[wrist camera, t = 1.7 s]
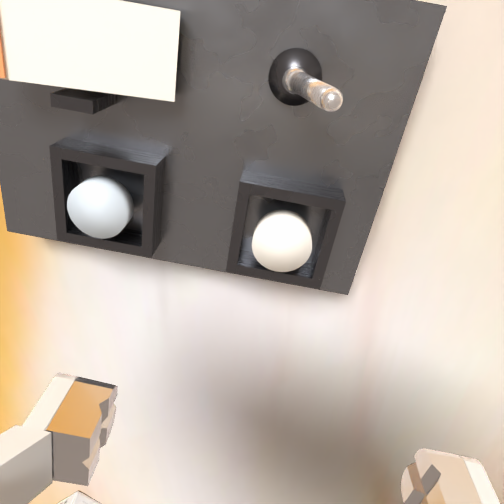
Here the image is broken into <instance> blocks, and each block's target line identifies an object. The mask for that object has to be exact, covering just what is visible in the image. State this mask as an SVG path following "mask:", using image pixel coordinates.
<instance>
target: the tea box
mask: <svg viewBox="0 0 504 504" xmlns="http://www.w3.org/2000/svg"><path fill="white" fill-rule="evenodd" d="M57 504H101V503H99V502H97V501H96V500H94V499H92V498H90V497H89V496H87V495H85V494H83V493H81V492H79V491H77V492H75V493H74V494H72V495H70V496H69V497H67V498H65V499H64V500H62V501H60V502H59V503H57Z"/></svg>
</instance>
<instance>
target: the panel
mask: <svg viewBox="0 0 504 504" xmlns="http://www.w3.org/2000/svg"><path fill="white" fill-rule="evenodd" d="M123 1H128V2H134V3H139V4H145V5H150V6H156V7H161V8H167V9H172V10H178V11H180V26H179V41H178V56H177V71H176V86H175V102H172V101H165V100H157V99H149V98H142V97H134V96H126V95H119V94H111V93H104V92H96V91H88V90H81V89H73V88H66V87H58V86H50V85H43V84H35V83H28V82H20V81H12V80H5V79H0V185H1V191H2V198H3V205H4V211H5V218H6V225H7V231H9V232H15V233H20V234H25V235H31V236H36V237H41V238H47V239H52V240H57V241H63V242H68V243H73V244H79V245H84V246H90V247H95V248H100V249H106V250H111V251H116V252H122V253H127V254H132V255H138V256H143V257H148V258H154V259H159V260H164V261H170V262H175V263H180V264H186V265H191V266H196V267H202V268H207V269H212V270H218V271H223V272H228V273H234V274H239V275H244V276H250V277H255V278H260V279H266V280H271V281H277V282H282V283H287V284H293V285H298V286H303V287H309V288H314V289H319V290H325V291H330V292H335V293H341V294H346V295H348V293H349V290H350V287H351V284H352V281H353V279H354V276H355V273H356V270H357V267H358V264H359V261H360V258H361V255H362V252H363V249H364V246H365V244H366V241H367V238H368V235H369V232H370V229H371V226H372V223H373V220H374V217H375V214H376V211H377V209H378V206H379V203H380V200H381V197H382V194H383V191H384V188H385V185H386V182H387V179H388V176H389V174H390V171H391V168H392V165H393V162H394V159H395V156H396V153H397V150H398V147H399V144H400V141H401V139H402V136H403V133H404V130H405V127H406V124H407V121H408V118H409V115H410V112H411V109H412V106H413V104H414V101H415V98H416V95H417V92H418V89H419V86H420V83H421V80H422V77H423V74H424V71H425V69H426V66H427V63H428V60H429V57H430V54H431V51H432V48H433V45H434V42H435V39H436V36H437V33H438V31H439V28H440V25H441V22H442V19H443V16H444V13H445V10H446V7H447V6H443V5H438V4H432V3H427V2H422V1H416V0H123ZM293 66H298V67H301V68H303V69H304V70H305V71H306V73H307V74H308V75H310V76H312V77H314V78H316V79H318V80H320V81H322V82H324V83H326V84H329V85H331V86H333V87H335V88H337V89H338V90H340V92H341V93H342V95H343V102H342V105H341V107H340V108H339V109H338V110H336V111H334V112H327V111H324V110H323V109H321V108H320V107H318V106H316V105H315V104H313V103H311V102H310V101H308V100H307V99H305V98H303V97H302V96H300V95H299V94H291V93H289V92H287V91H286V90H285V88H284V86H283V83H282V78H283V75H284V73H285V71H286V70H287V69H289V68H290V67H293ZM97 175H102V176H107V177H111V178H113V179H115V180H117V181H118V182H120V183H121V184H122V185H123V186H124V187H125V188H126V189H127V190H128V191H129V193H130V195H131V197H132V200H133V204H134V212H133V216H132V218H131V220H130V221H129V222H128V223H127V225H126V226H125V227H124V228H123V230H122V231H121V232H120V233H119V234H117V235H116V236H114V237H111V238H105V239H101V238H95V237H92V236H89V235H87V234H85V233H84V232H82V231H81V230H80V229H79V228H78V227H77V226H76V225H75V224H74V223H73V221H72V220H71V218H70V216H69V213H68V210H67V200H68V196H69V194H70V193H71V191H72V190H73V189H74V188H75V187H77V186H78V185H79V184H81V183H82V182H83V181H84V180H86V179H87V178H90V177H92V176H97ZM275 210H289V211H293V212H295V213H297V214H299V215H301V216H302V217H303V218H304V219H305V220H306V221H307V223H308V224H309V227H310V229H311V236H312V251H311V254H310V257H309V259H308V260H307V261H306V262H305V263H304V264H303V265H302V266H301V267H299V268H297V269H295V270H292V271H288V272H276V271H272V270H269V269H267V268H265V267H264V266H262V265H261V264H260V263H259V262H258V261H257V259H256V258H255V256H254V254H253V251H252V239H253V234H254V229H255V226H256V224H257V223H258V221H259V220H260V219H261V218H262V217H263V216H264V215H266V214H267V213H269V212H272V211H275Z"/></svg>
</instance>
